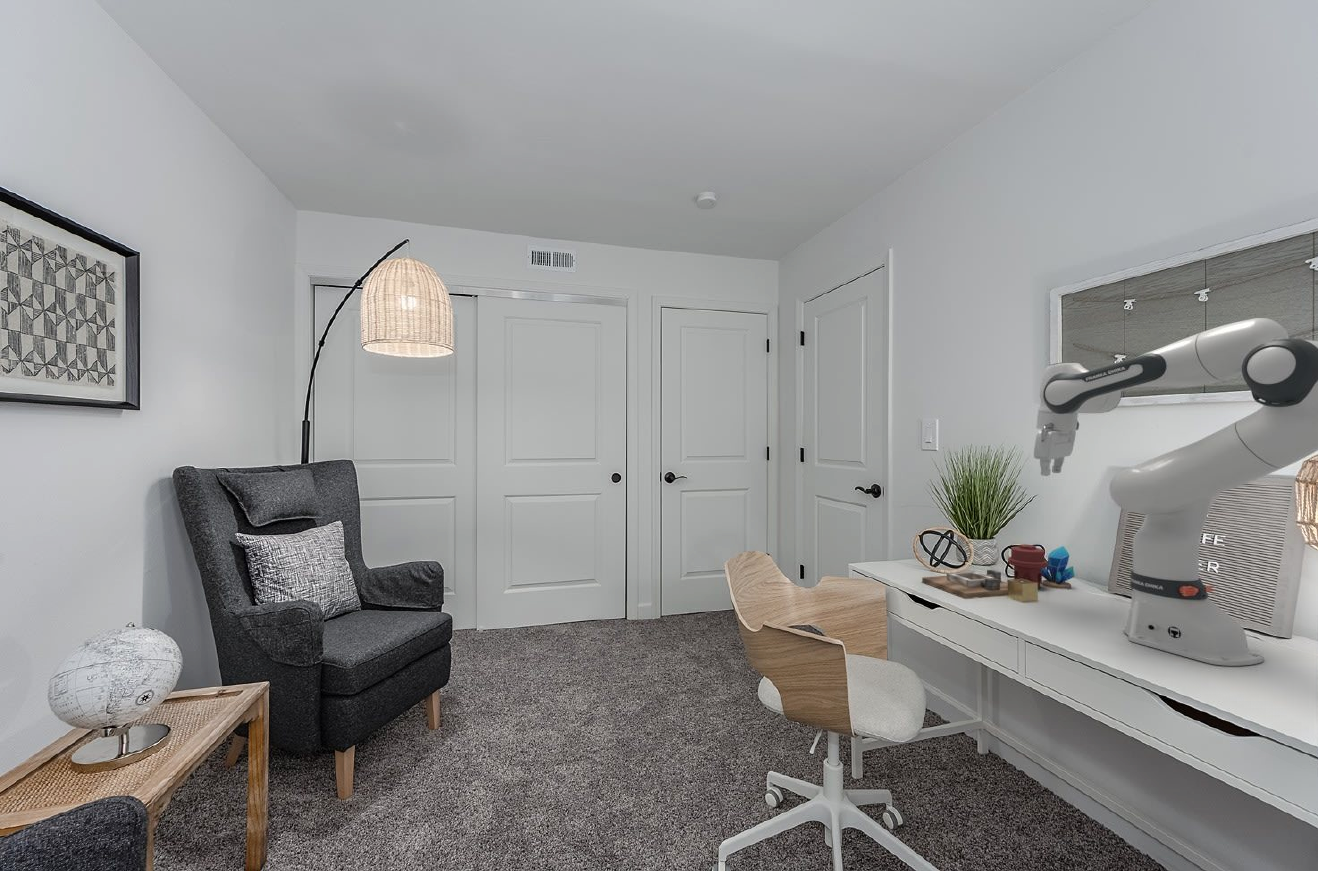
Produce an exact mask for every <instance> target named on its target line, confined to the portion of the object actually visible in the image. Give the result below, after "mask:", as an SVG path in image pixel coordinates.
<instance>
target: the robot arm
mask: <svg viewBox="0 0 1318 871" xmlns="http://www.w3.org/2000/svg"><path fill="white" fill-rule="evenodd" d="M1237 377H1238V378H1239V377H1243V380H1244V381H1245V384H1246V385H1247V386H1248V388H1249V389H1250V391H1251V395H1252V398H1253V399H1254V401H1255V402H1256V403H1258V404H1260V405H1262V407H1261V408H1259V409H1258V410H1257V411H1254V412H1253V413H1251V414H1249V415H1247V416H1245V417H1243V418H1241V419H1239V420H1237V421H1235V422H1233V423H1231V424H1229V425H1227V426H1225V427H1223V428H1221V429H1219V430H1217V431H1215V432H1213V433H1211V434H1210V435H1207V436H1205V437H1204V438H1202V439H1199V440H1197V441H1195V442H1193V443H1191V444H1190V443H1189V444H1187V445H1184V446H1182V447H1179V448H1177V449H1174V450H1172V451H1169V452H1165V453H1163V454H1161V455H1159V456H1156V457H1153V458H1151V459H1148V460H1147V461H1144V462H1142V463H1139V464H1137V465H1134V466H1132V467H1127V468H1125V469H1122V470H1120V471H1118V472H1117V473H1116V474H1114V475H1113V477H1112V478H1111V480H1110V483H1109V494H1110V496H1111V499H1112V500H1113V502H1114V503H1115V505H1117V506H1118V507H1119V508H1120V509H1123V510H1125V511H1127V512H1131V513H1135V514H1139V515H1140V514H1141V515H1145V517H1144V520H1143V521H1142V522H1143V523H1142V525H1141V526H1140V528H1139V529H1138V530H1137V532H1136V533H1135V534H1134V535H1133V538H1132V570H1131V571H1130V582H1129V583H1130V584H1129V586H1130V589H1131V603H1130V608H1129V613H1128V618H1127V620H1126V625H1125V627H1124V629H1123V632H1124V634H1126V635H1127V636H1128V641H1130V642H1132V643H1136V644H1138V645H1143V646H1147V647H1151V648H1153V649H1156V650H1160V651H1164V652H1166V653H1167V652H1168V653H1172V654H1175V655H1178V656H1181V657H1186V658H1187V659H1188V658H1189V659H1192V660H1197V661H1200V662H1204V663H1207V664H1209V665H1210V664H1211V665H1216V666H1230V667H1231V666H1232V667H1233V666H1234V667H1236V666H1237V667H1238V666H1240V667H1241V666H1249V665H1256V664H1260V663H1263V662H1264V660H1265V659H1264V654H1263V653H1261V652H1258V651H1256V650H1254V649H1250V648H1249V646H1248V639H1247V636H1246V632H1245V629H1244V627H1243V626H1242V624H1241V623H1240V622H1238V621H1236V620H1235V618H1233V617H1231V616H1230V615H1229V614H1227V612H1225V611H1224V610H1223V609H1221V607H1219V605H1217V604H1215V603H1214V602H1213V601H1212V600H1211V599H1209V593H1208V592H1214V590H1213V589H1212V588H1214V585H1205V584H1204V583H1203V581H1202V579H1201V578H1200V577H1199V576H1200V575H1199V574H1200V571H1199V570H1200V566H1199V565H1200V563H1199V562H1200V544H1201V542H1200V541H1201V537H1202V534H1203V530H1204V528H1205V523H1206V520H1207V518H1208V515H1209V512H1210V510H1211V507H1212V505H1213V504H1214V503H1215V502H1216V501H1217V500H1218V498H1219V497H1220V495H1221V493H1222V492H1225V491H1227V490H1231V489H1235V488H1238V487H1239V488H1240V487H1242V486H1244V485H1247V484H1249V483H1250V482H1251V483H1252V482H1253V481H1256V480H1258V479H1260V478H1262V477H1264V476H1268V475H1270V474H1271V473H1274V472H1277V471H1279V470H1282V469H1283V468H1286V467H1289V466H1290V465H1293V464H1295V463H1297V462H1299V461H1301V460H1303V459H1305V458H1307V457H1308V456H1310V455H1312V454H1314V453H1315V452H1317V451H1318V340H1310V339H1309V340H1308V339H1307V340H1306V339H1301V338H1292V337H1289V334H1288V332H1287V331H1286V329H1285V328H1284V326H1282V325H1281V324H1280V323H1278V322H1277V321H1275V320H1274V319H1272V318H1271V319H1270V318H1266V317H1256V318H1250V319H1245V320H1241V321H1240V320H1239V321H1236V322H1231V323H1227V324H1224V325H1220V326H1218V327H1214V328H1210V329H1208V330H1204V331H1202V332H1198V333H1195V334H1194V335H1190V336H1187V337H1185V338H1183V339H1181V340H1180V339H1179V340H1177V341H1174V342H1172V343H1170V344H1167V345H1165V346H1161V347H1159V348H1157V349H1155V350H1151V351H1148V352H1145V353H1143V354H1141V355H1138V356H1135V357H1131V358H1127V359H1126V360H1125V359H1124V360H1121V361H1117V362H1115V363H1114V362H1113V363H1111V364H1108V365H1104V366H1103V367H1102V366H1101V367H1099V368H1095V369H1093V370H1088V369H1086V368H1085V367H1083V366H1082V364H1081V363H1078V362H1074V361H1066V362H1055V363H1053V364H1050V365H1047V367H1046V368H1045V369H1044V372H1043V374H1042V378H1041V382H1040V383H1041V384H1040V390H1039V398H1040V405H1039V406H1038V409H1037V415H1036V417H1037V418H1036V429H1038V431H1037V433H1036V437H1035V440H1034V441H1035V442H1034V447H1033V457H1034V458H1033V459H1035V460H1036V459H1037V460H1039V465H1040V466H1039V467H1040V476H1044V477H1049V476H1050V475H1051V472H1052V473H1053V474H1061V473H1062V468H1063V465H1064V463H1065V457H1070V456H1071V455H1072V453H1073V450H1074V446H1075V441H1076V440H1075V439H1076V436H1077V435H1076V434H1077V433H1076V431H1078V430H1079V428H1080V422H1079V421H1078V417H1079V416H1078V415H1079V414H1104V413H1108V412H1111V411H1113V410H1114V409H1115V408H1117V406H1118V405H1119V404H1120V401H1121V399H1122V394H1123V393H1122V392H1123V391H1124V390H1128V389H1135V388H1146V387H1147V388H1148V387H1149V388H1150V387H1154V388H1156V387H1160V388H1161V387H1163V388H1189V387H1190V388H1192V387H1193V388H1194V387H1200V386H1208V385H1213V384H1216V383H1220V382H1224V381H1227V380H1231V379H1234V378H1237ZM1052 460H1054V461H1053V466H1052V467H1051V463H1052Z"/></svg>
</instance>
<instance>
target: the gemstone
mask: <svg viewBox="0 0 1318 871" xmlns="http://www.w3.org/2000/svg"><path fill="white" fill-rule="evenodd" d="M1047 556H1048V557H1047V561H1048V568H1047V567H1046V568H1042V578H1044V579H1042V583H1041V584H1042V585H1043V586H1045V587H1048V588H1052V589H1058V588H1069V589H1071V588H1072V584H1071V583H1070V582H1068V581H1069V580H1071V579H1073V578H1075V572H1074V566H1073V565H1072V566H1069V567H1068V568H1067V566H1068V563H1069V558H1070V553H1069V552H1068V550H1067V549H1066V548H1065V546H1064V545H1061V546H1059V547H1057V548H1055V549H1053V550H1052V551H1051V552H1050V553H1049V554H1048V555H1047Z"/></svg>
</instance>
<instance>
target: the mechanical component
mask: <svg viewBox="0 0 1318 871" xmlns="http://www.w3.org/2000/svg"><path fill="white" fill-rule="evenodd" d="M1010 553H1011V554H1010V555H1011V556H1008V558H1007V560H1008V561H1007V562H1008V564H1009V565H1012V566H1013V579H1026V580H1029V581H1032V582H1036V583H1038V588H1040V587H1041V584H1042V581H1043V576H1042V568H1046V569H1047V567H1048V560H1046V559H1045V550H1044V549H1042V548H1039V547H1036V545H1033V544H1026V543H1023V544H1020V545H1019V546H1012V547H1011V552H1010Z"/></svg>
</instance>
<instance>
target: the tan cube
mask: <svg viewBox="0 0 1318 871" xmlns="http://www.w3.org/2000/svg"><path fill="white" fill-rule="evenodd" d="M1006 583H1008V595H1007V598H1009V597H1010V598H1009V599H1012V600H1014V599H1015V601H1019V602H1021V603H1029V602H1038V601H1039V600H1038V596H1039V592H1038V590H1039V589H1038V583H1036V582H1032V581H1029V580H1026V579H1014V578H1009V579H1007V582H1006Z"/></svg>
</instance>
